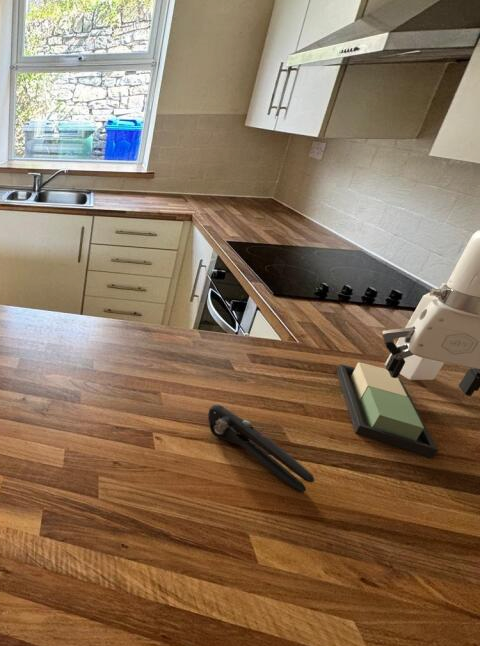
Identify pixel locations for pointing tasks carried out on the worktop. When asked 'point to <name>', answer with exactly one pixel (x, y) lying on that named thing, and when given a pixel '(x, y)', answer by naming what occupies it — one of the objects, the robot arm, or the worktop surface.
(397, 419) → the pad
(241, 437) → the can opener
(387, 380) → the pad
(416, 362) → the milk
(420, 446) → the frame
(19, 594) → the worktop surface
